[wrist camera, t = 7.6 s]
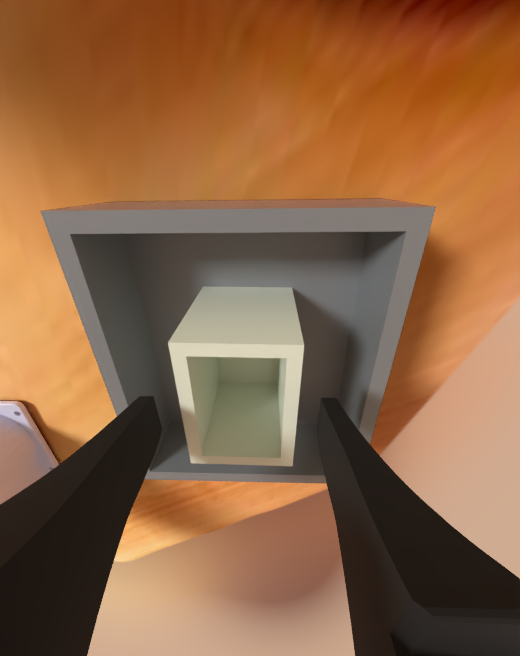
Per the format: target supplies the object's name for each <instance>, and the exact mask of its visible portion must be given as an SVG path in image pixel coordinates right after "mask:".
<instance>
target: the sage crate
mask: <svg viewBox="0 0 520 656" xmlns="http://www.w3.org/2000/svg"><path fill="white" fill-rule="evenodd" d="M168 346H169V351H170V356H171V362H172V367H173V372H174V377H175V382H176V388H177V393H178V398H179V403H180V409H181V414H182V419H183V424H184V430H185V435H186V440H187V445H188V450H189V456H190V461H191V463H199V464H232V465H265V466H293V456H294V446H295V436H296V425H297V415H298V405H299V394H300V384H301V374H302V363H303V353H304V342H303V337H302V332H301V327H300V323H299V318H298V313H297V309H296V304H295V299H294V295H293V290H292V288H284V287H207V286H203V287H202V289H201V291H200V292H199V294H198V295H197V297H196V299H195V300H194V302H193V303H192V305H191V307H190V308H189V310H188V311H187V313H186V315H185V316H184V318H183V319H182V321H181V323H180V324H179V326H178V327H177V329H176V330H175V332H174V334H173V335H172V337H171V338H170V340H169V342H168Z"/></svg>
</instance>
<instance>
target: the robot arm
mask: <svg viewBox="0 0 520 656" xmlns="http://www.w3.org/2000/svg"><path fill="white" fill-rule="evenodd" d="M161 432H162V426H161V422H160V419H159V415H158V411H157V407H156V404H155V400H154V396H139V397H138V398H137V399H136V400H135V401H134V402H132V403H131V404H130V405H129V406H128V407H127V408H126V409H125V410H124V411H123V412H121V413H120V414H119V415H118V416H117V417H116V418H115V419H114V420H113V421H111V422H110V423H109V424H108V425H107V426H106V427H105V428H104V429H102V430H101V431H100V432H99V433H98V434H97V435H96V436H94V437H93V438H92V439H91V440H90V441H88V442H87V443H86V444H85V445H83V446H82V447H81V448H80V449H79V450H77V451H76V452H75V453H74V454H72V455H71V456H70V457H69V458H67V459H66V460H65V461H63V462H62V463H61V464H59V463H58V462H57V460H56V458H55V457H54V455H53V453H52V452H51V450H50V448H49V446H48V445H47V443H46V441H45V440H44V438H43V436H42V435H41V433H40V431H39V429H38V428H37V426H36V424H35V423H34V421H33V419H32V418H31V416H30V414H29V412H28V411H27V409H26V407H25V406H24V404H22V403H21V402H18V401H0V656H87V654H88V650H89V646H90V642H91V638H92V634H93V630H94V627H95V623H96V619H97V615H98V612H99V608H100V605H101V601H102V598H103V594H104V591H105V588H106V584H107V581H108V577H109V574H110V571H111V568H112V564H113V561H114V558H115V555H116V552H117V548H118V545H119V542H120V539H121V536H122V533H123V530H124V527H125V524H126V521H127V519H128V516H129V514H130V511H131V509H132V506H133V504H134V502H135V499H136V497H137V495H138V492H139V490H140V488H141V485H142V483H143V481H144V479H145V476H146V474H147V472H148V469H149V467H150V465H151V462H152V460H153V458H154V455H155V453H156V449H157V446H158V443H159V440H160V436H161ZM317 438H318V446H319V453H320V458H321V462H322V466H323V470H324V474H325V478H326V482H327V487H328V491H329V495H330V498H331V503H332V507H333V511H334V515H335V520H336V524H337V531H338V537H339V543H340V550H341V556H342V563H343V569H344V576H345V583H346V590H347V597H348V604H349V611H350V618H351V626H352V634H353V642H354V650H355V656H520V579H519V578H518V577H517V576H515V575H514V574H513V573H511V572H510V571H509V570H507V569H506V568H505V567H503V566H502V565H501V564H499V563H498V562H497V561H495V560H494V559H493V558H491V557H490V556H489V555H487V554H486V553H485V552H483V551H482V550H481V549H479V548H478V547H477V546H475V545H474V544H473V543H472V542H470V541H469V540H468V539H467V538H466V537H464V536H463V535H462V534H461V533H459V532H458V531H457V530H456V529H454V528H453V527H452V526H451V525H450V524H448V523H447V522H446V521H445V520H444V519H443V518H442V517H441V516H440V515H438V514H437V513H436V512H435V511H434V510H433V509H432V508H431V507H429V506H428V505H427V504H426V503H425V502H424V501H423V500H422V499H420V497H418V496H417V495H416V494H415V493H414V492H413V491H412V490H411V489H410V488H409V487H408V486H407V485H406V484H405V483H404V482H403V481H402V480H401V479H400V478H399V477H398V476H397V475H396V474H395V473H394V471H393V470H392V469H391V468H390V467H389V466H388V465H387V464H386V463H385V462H384V461H383V459H382V458H381V457H380V456H379V455H378V453H377V452H376V451H375V450H374V449H373V448H372V446H371V445H370V444H369V443H368V441H367V440H366V439H365V438H364V436H363V435H362V434H361V432H360V431H359V430H358V429H357V427H356V426H355V425H354V423H353V422H352V420H351V419H350V418H349V416H348V415H347V413H346V412H345V410H344V409H343V407H342V406H341V404H340V403H339V401H338V400H337V399H336V398H321V401H320V409H319V416H318V424H317Z"/></svg>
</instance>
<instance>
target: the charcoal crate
mask: <svg viewBox="0 0 520 656" xmlns="http://www.w3.org/2000/svg"><path fill="white" fill-rule="evenodd" d="M435 208H436V207H434V206H427V205H421V204H414V203H408V202H401V201H395V200H389V199H299V200H212V201H126V202H105V203H98V204H90V205H82V206H75V207H67V208H60V209H52V210H44V211H41V214H42V216H43V219H44V222H45V224H46V227H47V230H48V232H49V235H50V238H51V240H52V243H53V246H54V248H55V251H56V254H57V257H58V259H59V262H60V265H61V267H62V270H63V273H64V275H65V278H66V281H67V283H68V286H69V289H70V291H71V294H72V297H73V299H74V302H75V305H76V307H77V310H78V313H79V315H80V318H81V321H82V324H83V326H84V329H85V332H86V334H87V337H88V340H89V342H90V345H91V348H92V350H93V353H94V356H95V358H96V361H97V364H98V366H99V369H100V372H101V374H102V377H103V380H104V382H105V385H106V388H107V390H108V393H109V396H110V399H111V401H112V404H113V407H114V409H115V412H116V415H117V416H118V415H119V414H120V413H121V412H123V411H124V410H125V409H126V408H127V407H128V406H129V405H130V404H131V403H132V402H134V401H135V400H136V399H137V398H138V397H139V396H154V400H155V404H156V407H157V411H158V415H159V419H160V422H161V426H162V432H161V436H160V440H159V443H158V446H157V449H156V453H155V455H154V458H153V460H152V462H151V465H150V467H149V469H148V472H147V474H146V476H145V479H153V480H197V481H241V482H285V483H327V482H326V478H325V474H324V470H323V466H322V462H321V458H320V453H319V446H318V438H317V424H318V416H319V409H320V401H321V398H336V399H337V400H338V401H339V403H340V404H341V406H342V407H343V409H344V410H345V412H346V413H347V415H348V416H349V418H350V419H351V420H352V422H353V423H354V425H355V426H356V427H357V429H358V430H359V431H360V432H361V434H362V435H363V436H364V438H365V439H366V440H367V441H368V443H369V444H370V443H371V439H372V436H373V432H374V428H375V425H376V421H377V418H378V414H379V410H380V407H381V403H382V400H383V396H384V392H385V389H386V385H387V382H388V378H389V374H390V371H391V367H392V363H393V360H394V356H395V353H396V349H397V345H398V342H399V338H400V335H401V331H402V327H403V324H404V320H405V317H406V313H407V309H408V306H409V302H410V298H411V295H412V291H413V288H414V284H415V280H416V277H417V273H418V270H419V266H420V262H421V259H422V255H423V252H424V248H425V244H426V241H427V237H428V234H429V230H430V226H431V223H432V219H433V215H434V212H435ZM203 286H207V287H284V288H292V290H293V295H294V299H295V304H296V309H297V313H298V318H299V323H300V327H301V332H302V337H303V342H304V353H303V363H302V374H301V384H300V394H299V405H298V415H297V425H296V436H295V446H294V456H293V466H265V465H232V464H199V463H191V461H190V456H189V450H188V445H187V440H186V435H185V430H184V424H183V419H182V414H181V409H180V403H179V398H178V393H177V388H176V382H175V377H174V372H173V367H172V362H171V356H170V351H169V346H168V342H169V340H170V338H171V337H172V335H173V334H174V332H175V330H176V329H177V327H178V326H179V324H180V323H181V321H182V319H183V318H184V316H185V315H186V313H187V311H188V310H189V308H190V307H191V305H192V303H193V302H194V300H195V299H196V297H197V295H198V294H199V292H200V291H201V289H202V287H203Z"/></svg>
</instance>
